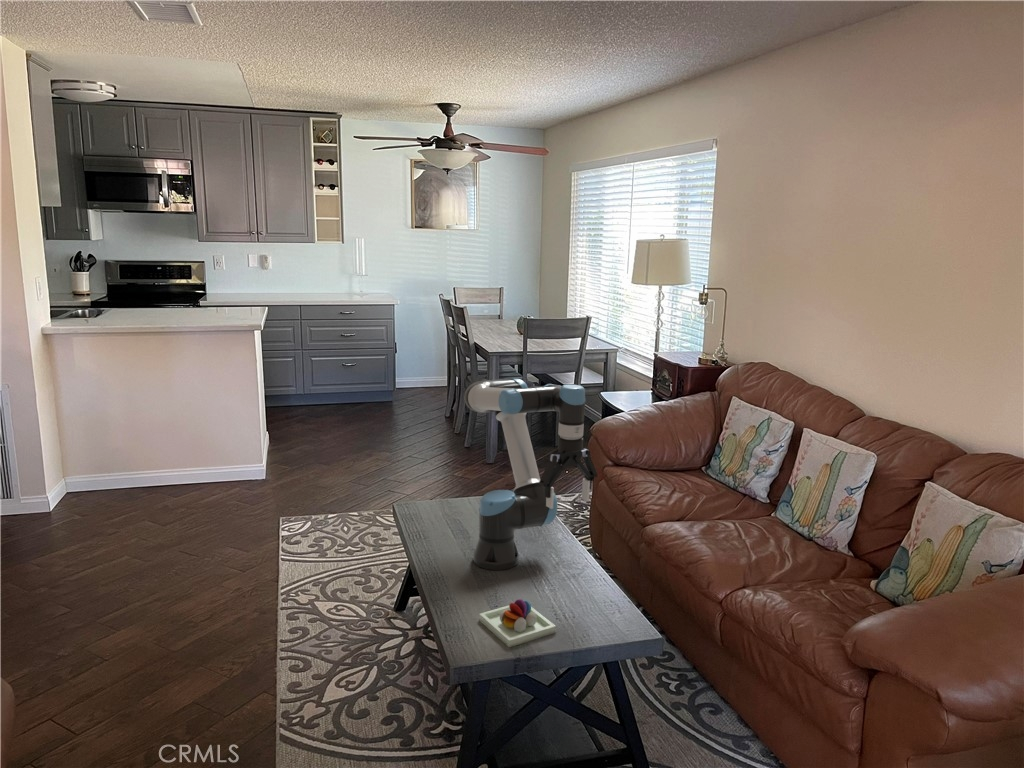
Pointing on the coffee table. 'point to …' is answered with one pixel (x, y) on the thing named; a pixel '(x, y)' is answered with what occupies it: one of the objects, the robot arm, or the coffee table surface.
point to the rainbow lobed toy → (518, 616)
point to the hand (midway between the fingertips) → (567, 503)
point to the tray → (509, 634)
